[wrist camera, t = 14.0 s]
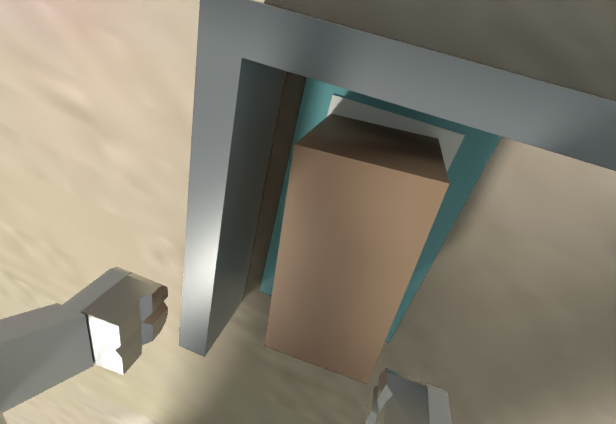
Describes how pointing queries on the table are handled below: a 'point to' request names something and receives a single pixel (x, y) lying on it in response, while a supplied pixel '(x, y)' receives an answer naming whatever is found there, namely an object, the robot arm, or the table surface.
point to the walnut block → (351, 240)
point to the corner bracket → (353, 104)
